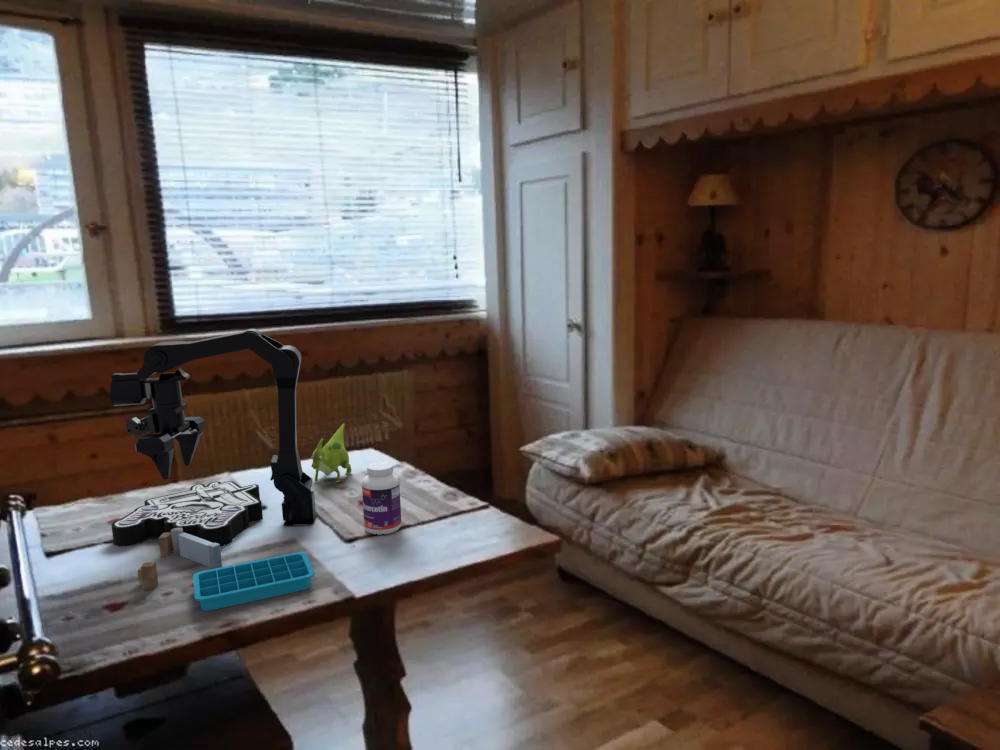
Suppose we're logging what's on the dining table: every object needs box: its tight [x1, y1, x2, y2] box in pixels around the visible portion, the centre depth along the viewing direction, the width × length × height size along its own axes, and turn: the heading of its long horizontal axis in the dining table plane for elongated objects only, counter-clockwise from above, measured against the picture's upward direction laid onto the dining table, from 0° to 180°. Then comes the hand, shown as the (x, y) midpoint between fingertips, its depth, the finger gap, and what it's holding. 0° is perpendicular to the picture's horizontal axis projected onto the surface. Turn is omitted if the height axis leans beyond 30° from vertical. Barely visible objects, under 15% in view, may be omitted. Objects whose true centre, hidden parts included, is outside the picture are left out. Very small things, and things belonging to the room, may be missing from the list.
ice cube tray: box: [192, 551, 316, 612], centre depth 130 cm, size 12×20×3 cm, turn 115°
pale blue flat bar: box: [171, 528, 223, 569], centre depth 142 cm, size 2×15×5 cm, turn 55°
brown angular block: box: [158, 532, 173, 557], centre depth 145 cm, size 2×3×4 cm, turn 5°
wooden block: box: [137, 561, 159, 591], centre depth 132 cm, size 4×5×4 cm
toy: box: [310, 423, 353, 483], centre depth 190 cm, size 8×21×15 cm, turn 171°
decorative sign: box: [110, 480, 264, 548], centre depth 163 cm, size 28×4×30 cm
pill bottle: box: [361, 461, 402, 536], centre depth 154 cm, size 8×8×14 cm
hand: (177, 472), depth 154 cm, fingers open, 9 cm apart
